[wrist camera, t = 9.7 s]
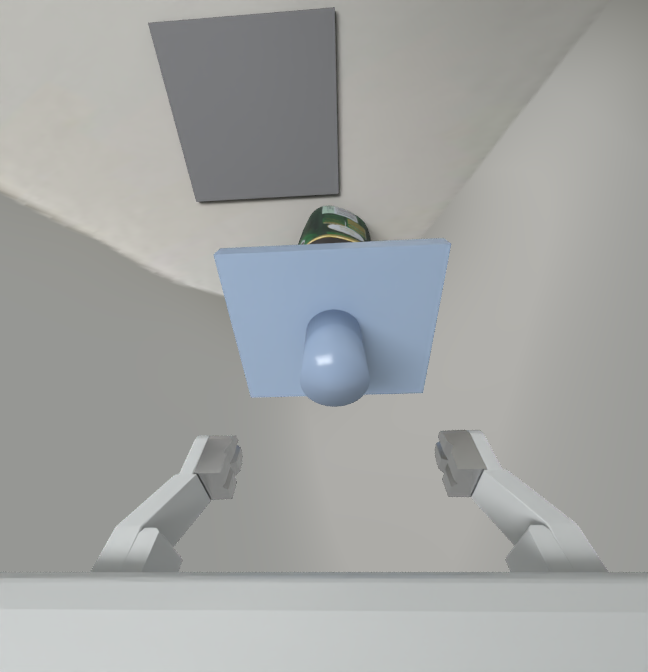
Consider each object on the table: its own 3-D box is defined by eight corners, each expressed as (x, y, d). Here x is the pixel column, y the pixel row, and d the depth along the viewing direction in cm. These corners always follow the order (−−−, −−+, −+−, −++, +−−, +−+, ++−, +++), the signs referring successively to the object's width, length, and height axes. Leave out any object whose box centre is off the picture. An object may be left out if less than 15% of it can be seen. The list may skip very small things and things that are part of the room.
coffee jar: (345, 292, 38) (356, 388, 23) (288, 271, 37) (259, 358, 21) (378, 221, 33) (421, 283, 18) (315, 193, 32) (302, 234, 16)
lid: (220, 248, 17) (176, 287, 12) (443, 238, 16) (492, 274, 11) (254, 386, 23) (234, 450, 18) (418, 381, 22) (443, 446, 17)
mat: (151, 25, 25) (147, 22, 24) (334, 9, 24) (334, 7, 24) (198, 201, 32) (196, 201, 32) (338, 193, 32) (338, 193, 31)
